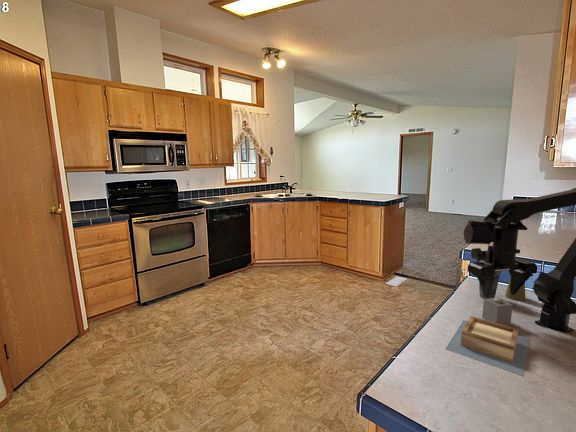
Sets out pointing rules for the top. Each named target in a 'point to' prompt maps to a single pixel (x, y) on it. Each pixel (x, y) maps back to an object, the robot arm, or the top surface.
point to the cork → (519, 294)
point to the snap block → (497, 311)
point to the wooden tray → (490, 338)
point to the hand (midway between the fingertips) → (499, 295)
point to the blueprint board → (514, 366)
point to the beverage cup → (494, 287)
